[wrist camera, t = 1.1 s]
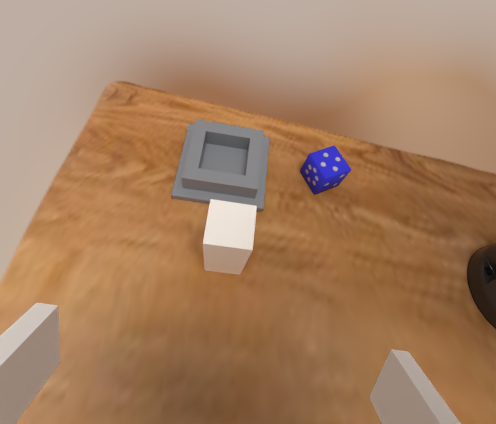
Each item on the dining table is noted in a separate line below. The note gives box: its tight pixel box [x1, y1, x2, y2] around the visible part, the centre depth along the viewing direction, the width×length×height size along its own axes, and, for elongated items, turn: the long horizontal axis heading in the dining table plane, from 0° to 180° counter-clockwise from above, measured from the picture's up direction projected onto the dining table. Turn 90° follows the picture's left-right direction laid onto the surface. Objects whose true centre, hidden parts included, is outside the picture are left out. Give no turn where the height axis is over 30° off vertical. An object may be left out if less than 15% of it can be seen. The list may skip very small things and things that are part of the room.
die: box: [300, 146, 351, 194], centre depth 45 cm, size 5×5×5 cm
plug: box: [203, 199, 257, 275], centre depth 34 cm, size 5×5×12 cm
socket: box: [171, 119, 269, 211], centre depth 43 cm, size 14×14×4 cm
